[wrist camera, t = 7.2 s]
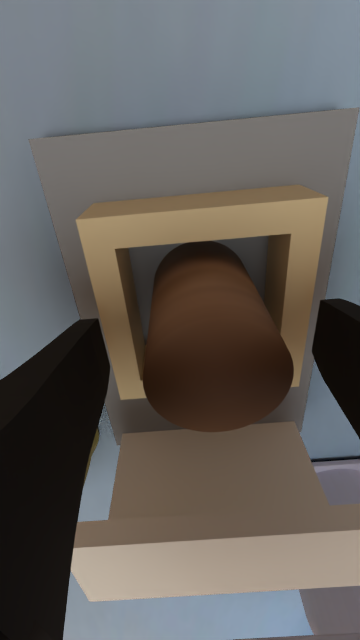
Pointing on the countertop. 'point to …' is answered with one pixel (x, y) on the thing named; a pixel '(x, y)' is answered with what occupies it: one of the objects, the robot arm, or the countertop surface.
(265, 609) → the countertop surface
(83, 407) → the robot arm
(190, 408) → the peg
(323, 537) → the socket stand
